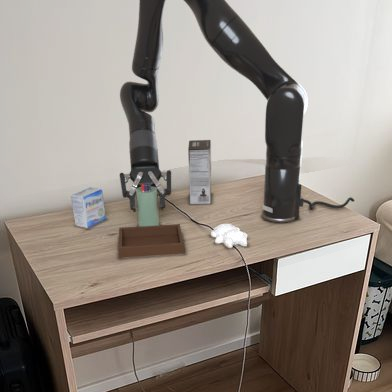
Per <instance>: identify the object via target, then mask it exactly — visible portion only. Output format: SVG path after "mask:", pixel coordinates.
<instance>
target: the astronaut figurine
mask: <svg viewBox="0 0 392 392" xmlns="http://www.w3.org/2000/svg"><path fill="white" fill-rule="evenodd" d="M210 236H211V238H215V240H214V243H215V244H221V243H222V244H224V246H225V247H227V248H229V249H232V248H233V246H235V245H240V246H241V247H247V246H248V239H247V238H248V233H246V232H244V231H241V229H240V228H239V227H237V226H236V225H234V224H232V223H221V224H219V225H216V226H215V227H214V228H213V230H211V232H210Z"/></svg>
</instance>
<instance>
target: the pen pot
mask: <svg viewBox="0 0 392 392" xmlns="http://www.w3.org/2000/svg"><path fill="white" fill-rule="evenodd" d="M158 196H159V194H158V193H157V188H155V187H152V186H151V184H148V185H147V184H145V185H144V184H142V185H141V187H139V188H137V189H136V195H135V202H136V213H137V224H138V227H139V226H156V225H160V215H159V214H160V212H159V197H158Z"/></svg>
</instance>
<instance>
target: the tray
mask: <svg viewBox="0 0 392 392" xmlns="http://www.w3.org/2000/svg"><path fill="white" fill-rule="evenodd" d="M184 254H185V242H184V238H183V234H182V227H181V224H180V223H175V224H174V223H173V224H159V225H156V226H139V225H138V226H125V227H119V228H118V255H119V259H121V258H122V259H123V258H137V257H153V256H168V255H184Z"/></svg>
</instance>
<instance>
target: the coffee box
mask: <svg viewBox="0 0 392 392" xmlns="http://www.w3.org/2000/svg"><path fill="white" fill-rule="evenodd" d="M187 151H188V152H187V153H188V182H189V183H188V184H189V185H188V186H189V204H190V205H211V203H212V141H211V139H198V140H197V139H196V140H194V139H193V140H189V141H188V148H187Z"/></svg>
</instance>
